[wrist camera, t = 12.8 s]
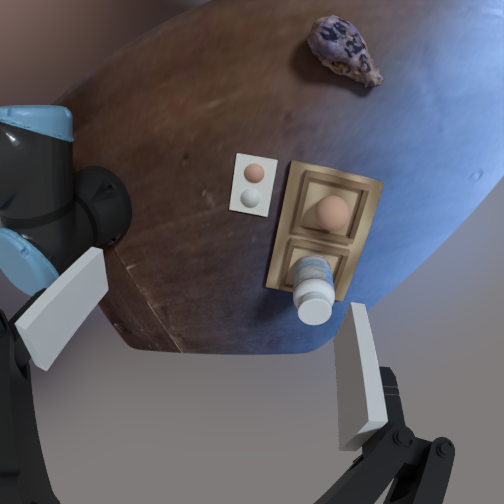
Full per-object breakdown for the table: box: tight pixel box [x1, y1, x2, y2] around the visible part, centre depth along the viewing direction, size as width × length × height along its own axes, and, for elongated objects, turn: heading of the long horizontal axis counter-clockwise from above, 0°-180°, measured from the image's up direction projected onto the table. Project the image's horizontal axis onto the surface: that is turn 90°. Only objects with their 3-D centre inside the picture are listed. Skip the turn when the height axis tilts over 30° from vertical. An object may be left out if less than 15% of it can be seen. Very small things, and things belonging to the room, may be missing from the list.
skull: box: [307, 15, 384, 87], centre depth 30 cm, size 12×8×6 cm, turn 41°
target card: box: [229, 153, 278, 217], centre depth 44 cm, size 6×9×1 cm, turn 171°
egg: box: [315, 195, 350, 231], centre depth 41 cm, size 5×5×5 cm
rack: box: [266, 160, 384, 301], centre depth 46 cm, size 14×22×2 cm, turn 171°
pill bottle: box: [293, 254, 335, 325], centre depth 43 cm, size 6×6×11 cm
